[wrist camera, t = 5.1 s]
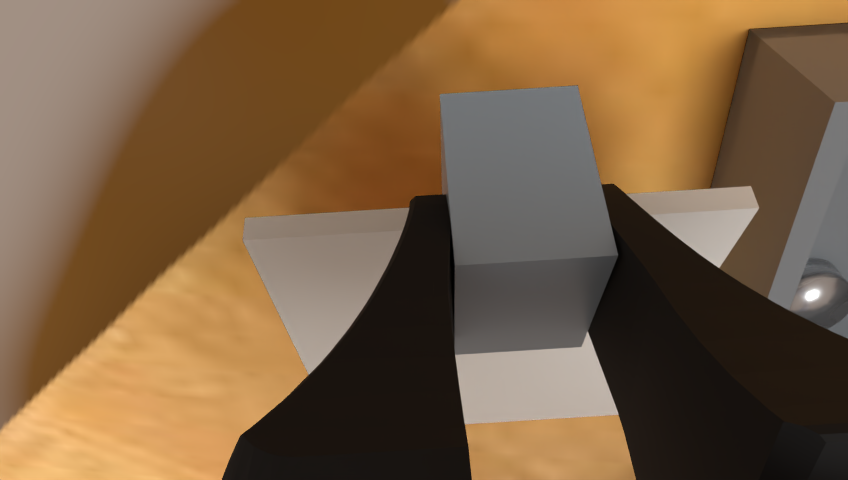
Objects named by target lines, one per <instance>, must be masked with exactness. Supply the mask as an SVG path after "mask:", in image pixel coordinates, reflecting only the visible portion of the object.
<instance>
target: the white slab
mask: <svg viewBox="0 0 848 480" xmlns="http://www.w3.org/2000/svg"><path fill="white" fill-rule="evenodd" d="M440 124H441V169H442V195H443V194H446V197H447V203H448V210H449V216H450V223H451V249H452V279H453V309H454V338H455V346H454V349H455V358H456V365H457V373H458V380H459V388H460V395H461V402H462V409H463V416H464V423H465V424H477V423H493V422H509V421H526V420H542V419H558V418H574V417H590V416H606V415H619V414H618V411H617V408H616V406H615V403H614V400H613V398H612V395H611V392H610V390H609V387H608V384H607V382H606V379H605V376H604V374H603V371H602V368H601V366H600V363H599V360H598V358H597V355H596V352H595V350H594V347H593V344H592V341H591V339H590V336H589V333H588V329H589V327H590V324H591V322H592V319H593V317H594V314H595V312H596V309H597V307H598V304H599V302H600V300H601V297H602V295H603V292H604V290H605V287H606V285H607V282H608V280H609V277H610V275H611V272H612V270H613V267H614V265H615V262H616V260H617V257H618V252H617V248H616V244H615V240H614V236H613V231H612V227H611V223H610V219H609V215H608V210H607V206H606V202H605V198H604V194H603V190H602V185H601V181H600V177H599V173H598V169H597V165H596V160H595V156H594V152H593V148H592V144H591V140H590V135H589V131H588V127H587V123H586V119H585V115H584V110H583V106H582V102H581V98H580V94H579V89H578V85H577V86H561V87H545V88H529V89H513V90H497V91H482V92H466V93H450V94H440ZM626 195H628V196H629V197H630V198H631V199H632V200H633V201H635V202H636V203H637V204H638V205H639V206H640V207H641V208H643V209H644V210H645V211H646V212H647V213H649V214H650V215H651V216H652V217H653V218H654V219H656V220H657V221H658V222H659V223H660V224H662V225H663V226H664V227H665V228H666V229H668V230H669V231H670V232H671V233H673V234H674V235H675V236H676V237H678V238H679V239H680V240H681V241H683V242H684V243H685V244H687V245H688V246H689V247H691V248H692V249H693V250H694V251H696V252H697V253H698V254H700V255H701V256H703V257H704V258H705V259H707V260H708V261H710V262H711V263H713V264H714V265H715V266H717V267H718V268H720V266H721V265H722V263H723V262H724V260H725V259H726V257H727V256H728V254H729V253H730V251H731V250H732V248H733V247H734V245H735V244H736V242H737V241H738V239H739V238H740V236H741V235H742V233H743V232H744V230H745V229H746V227H747V226H748V224H749V223H750V221H751V220H752V218H753V217H754V215H755V214H756V212H757V211H758V209H759V206H758V203H757V201H756V198H755V195H754V193H753V190H752V188H751V186H745V187H729V188H713V189H697V190H681V191H665V192H649V193H633V194H626ZM408 212H409V208H394V209H378V210H362V211H346V212H330V213H314V214H298V215H283V216H267V217H251V218H245V223H244V232H243V242H244V244H245V246H246V248H247V250H248V252H249V254H250V256H251V258H252V260H253V262H254V265H255V267H256V269H257V271H258V273H259V275H260V277H261V279H262V281H263V283H264V285H265V287H266V289H267V291H268V293H269V295H270V297H271V299H272V301H273V303H274V305H275V307H276V309H277V311H278V313H279V315H280V317H281V319H282V322H283V324H284V326H285V328H286V330H287V332H288V334H289V336H290V338H291V340H292V342H293V344H294V346H295V348H296V350H297V352H298V354H299V356H300V358H301V360H302V362H303V364H304V366H305V368H306V370H307V372H308V374H310V373H311V372H312V371H313V370H314V369H315V368H316V367H317V366H318V365H319V364H320V363H321V362H322V361H323V359H324V358H325V357H326V356H327V355H328V354H329V353H330V351H331V350H332V349H333V348H334V346H335V345H336V344H337V343H338V341H339V340H340V339H341V338H342V336H343V335H344V334H345V333H346V331H347V330H348V329H349V327H350V326H351V325H352V323H353V322H354V320H355V319H356V318H357V316H358V315H359V313H360V312H361V310H362V309H363V307H364V306H365V304H366V303H367V301H368V299H369V298H370V296H371V295H372V293H373V291H374V289H375V287H376V286H377V284H378V282H379V280H380V278H381V277H382V275H383V273H384V271H385V269H386V267H387V265H388V263H389V261H390V259H391V257H392V255H393V252H394V250H395V248H396V246H397V244H398V241H399V239H400V236H401V234H402V231H403V228H404V226H405V222H406V219H407V216H408Z"/></svg>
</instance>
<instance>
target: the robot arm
mask: <svg viewBox="0 0 848 480" xmlns="http://www.w3.org/2000/svg"><path fill="white" fill-rule="evenodd" d="M602 190H603V194H604V198H605V202H606V206H607V210H608V215H609V219H610V223H611V227H612V231H613V236H614V240H615V244H616V248H617V252H618V257H617V260H616V262H615V265H614V267H613V270H612V272H611V275H610V277H609V280H608V282H607V285H606V287H605V290H604V292H603V295H602V297H601V300H600V302H599V304H598V307H597V309H596V312H595V314H594V317H593V319H592V322H591V324H590V327H589V329H588V333H589V336H590V339H591V341H592V344H593V347H594V350H595V352H596V355H597V358H598V360H599V363H600V366H601V368H602V371H603V374H604V376H605V379H606V382H607V384H608V387H609V390H610V392H611V395H612V398H613V400H614V403H615V406H616V408H617V411H618V414H619V417H620V420H621V423H622V427H623V430H624V433H625V437H626V441H627V445H628V449H629V453H630V457H631V461H632V465H633V469H634V473H635V476H636V480H848V338H845V337H843V336H841V335H839V334H836V333H834V332H832V331H830V330H828V329H826V328H824V327H822V326H820V325H817V324H815V323H813V322H811V321H809V320H807V319H805V318H803V317H801V316H799V315H797V314H795V313H793V312H791V311H789V310H788V309H786V308H784V307H782V306H780V305H778V304H776V303H775V302H773V301H771V300H769V299H768V298H766V297H764V296H763V295H761V294H759V293H758V292H756V291H754V290H752V289H751V288H749V287H747V286H746V285H744V284H742V283H741V282H739V281H738V280H736V279H735V278H733V277H731V276H730V275H728V274H727V273H725V272H724V271H723V270H721V269H720V268H718V267H717V266H715V265H714V264H713V263H711V262H710V261H708V260H707V259H705V258H704V257H703V256H701V255H700V254H698V253H697V252H696V251H694V250H693V249H692V248H691V247H689V246H688V245H687V244H685V243H684V242H683V241H681V240H680V239H679V238H678V237H676V236H675V235H674V234H673V233H671V232H670V231H669V230H668V229H666V228H665V227H664V226H663V225H662V224H660V223H659V222H658V221H657V220H656V219H654V218H653V217H652V216H651V215H650V214H649V213H647V212H646V211H645V210H644V209H643V208H641V207H640V206H639V205H638V204H637V203H636V202H635V201H633V200H632V199H631V198H630V197H629V196H628V195H626V194H625V193H624V192H623V191H622V190H620V189H619V188H618V187H617V186H616V185H614V184H602ZM454 346H455V338H454V309H453V279H452V249H451V223H450V216H449V210H448V203H447V197H446V194H443V195H427V196H415V197H414V198H413V199H412V200H411V201H410V207H409V212H408V216H407V219H406V222H405V226H404V228H403V231H402V234H401V236H400V239H399V241H398V244H397V246H396V248H395V250H394V252H393V255H392V257H391V259H390V261H389V263H388V265H387V267H386V269H385V271H384V273H383V275H382V277H381V278H380V280H379V282H378V284H377V286H376V287H375V289H374V291H373V293H372V295H371V296H370V298H369V299H368V301H367V303H366V304H365V306H364V307H363V309H362V310H361V312H360V313H359V315H358V316H357V318H356V319H355V320H354V322H353V323H352V325H351V326H350V327H349V329H348V330H347V331H346V333H345V334H344V335H343V336H342V338H341V339H340V340H339V341H338V343H337V344H336V345H335V346H334V348H333V349H332V350H331V351H330V353H329V354H328V355H327V356H326V357H325V358H324V359H323V361H322V362H321V363H320V364H319V365H318V366H317V367H316V368H315V369H314V370H313V371H312V372H311V373H310V374H309V375H308V376H307V377H306V378H305V379H304V380H303V381H302V382H301V383H300V384H299V385H298V386H297V387H296V388H295V389H294V390H293V391H292V392H291V393H290V394H289V395H288V396H287V397H286V398H285V399H284V400H283V401H282V402H281V403H280V404H278V405H277V406H276V407H275V408H274V409H273V410H271V411H270V412H269V413H268V414H267V415H265V416H264V417H263V418H262V419H261V420H259V421H258V422H257V423H256V424H255V425H253V426H252V427H251V428H250V429H248V430H247V431H246V432H244V433H243V434H242V435H241V436H240V438H239V440H238V442H237V444H236V446H235V449H234V451H233V453H232V455H231V458H230V460H229V462H228V465H227V468H226V470H225V473H224V475H223V478H222V480H472V478H471V468H470V459H469V449H468V442H467V436H466V429H465V423H464V416H463V409H462V402H461V395H460V388H459V380H458V373H457V365H456V358H455V349H454Z"/></svg>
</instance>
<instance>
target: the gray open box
mask: <svg viewBox="0 0 848 480" xmlns="http://www.w3.org/2000/svg"><path fill="white" fill-rule="evenodd" d="M745 186H751V188H752V190H753V193H754V195H755V198H756V201H757V203H758V206H759V209H758V211H757V212H756V214H755V215H754V217H753V218H752V220H751V221H750V223H749V224H748V226H747V227H746V229H745V230H744V232H743V233H742V235H741V236H740V238H739V239H738V241H737V242H736V244H735V245H734V247H733V248H732V250H731V251H730V253H729V254H728V256H727V257H726V259H725V260H724V262H723V263H722V265H721V266H720V269H721V270H723V271H724V272H725V273H727V274H728V275H730V276H731V277H733V278H735V279H736V280H738V281H739V282H741V283H742V284H744V285H746V286H747V287H749V288H751V289H752V290H754V291H756V292H758V293H759V294H761V295H763V296H764V297H766V298H768V299H769V300H771V301H773V302H775V303H776V304H778V305H780V306H782V307H784V308H786V309H788V310H789V309H790V306H791V303H792V301H793V298H794V295H795V293H796V290H797V288H798V285H799V282H800V280H801V277H802V274H803V272H804V269H805V266H806V264H807V261H808V259H809V258H818V259H824V260H827V261H829V262H831V263H832V264H833V265H834V266H835V267H836V268H837V269H838V271H839V272H840V273H841V274H842V276H843V277H844V278H845V279H846V280H847V282H848V23H841V24H825V25H809V26H793V27H777V28H761V29H750V30H749V34H748V38H747V42H746V46H745V50H744V54H743V58H742V62H741V67H740V71H739V75H738V79H737V83H736V87H735V91H734V95H733V99H732V103H731V107H730V111H729V116H728V120H727V124H726V128H725V132H724V136H723V140H722V144H721V148H720V152H719V156H718V160H717V165H716V169H715V173H714V177H713V181H712V185H711V189H713V188H729V187H745ZM828 330H830V331H832V332H834V333H836V334H839V335H841V336H843V337H845V338H848V314H847V315H846V316H845V317H844V318H843V319H842V320H841V321H840V322H838V323H837V324H835V325H834V326H832V327H830V328H828Z"/></svg>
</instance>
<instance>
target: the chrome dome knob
mask: <svg viewBox="0 0 848 480" xmlns="http://www.w3.org/2000/svg"><path fill="white" fill-rule="evenodd" d="M789 311H791V312H793V313H795V314H797V315H799V316H801V317H803V318H805V319H807V320H809V321H811V322H813V323H815V324H817V325H820V326H822V327H824V328H826V329H828V328H830V327H832V326H834V325H835V324H837V323H838V322H840V321H841V320H842V319H843V318H844V317H845V316H846V315H847V314H848V282H847V280H846V279H845V278H844V277H843V276H842V274H841V273H840V272H839V271H838V269H837V268H836V267H835V266H834V265H833V264H832V263H831V262H829V261H827V260H824V259H818V258H809V259H808V261H807V264H806V266H805V269H804V272H803V274H802V277H801V280H800V282H799V285H798V288H797V290H796V293H795V295H794V298H793V301H792V303H791V306H790V309H789Z"/></svg>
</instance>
